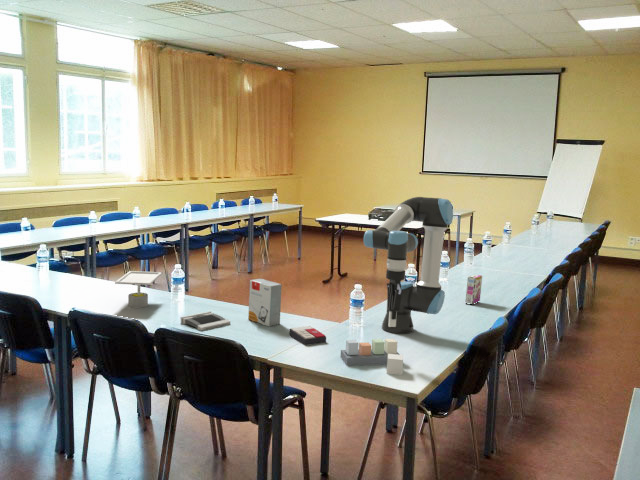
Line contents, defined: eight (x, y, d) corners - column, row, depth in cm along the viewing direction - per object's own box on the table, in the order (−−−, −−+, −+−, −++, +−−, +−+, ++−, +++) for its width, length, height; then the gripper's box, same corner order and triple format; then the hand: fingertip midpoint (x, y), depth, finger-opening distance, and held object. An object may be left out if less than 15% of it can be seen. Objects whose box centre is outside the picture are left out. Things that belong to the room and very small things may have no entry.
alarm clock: (209, 311, 298) (230, 315, 287) (210, 320, 298) (231, 325, 287) (180, 317, 285) (201, 322, 274) (180, 326, 285) (201, 332, 274)
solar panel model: (149, 312, 301) (149, 283, 298) (114, 311, 300) (114, 281, 298) (161, 299, 328) (161, 272, 326) (129, 298, 327) (129, 270, 325)
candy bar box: (473, 305, 348) (475, 277, 346) (464, 304, 351) (467, 276, 348) (480, 302, 357) (482, 275, 355) (472, 301, 360) (474, 274, 358)
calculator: (305, 338, 261) (289, 326, 274) (304, 347, 262) (288, 336, 274) (326, 335, 267) (310, 324, 279) (326, 344, 267) (309, 333, 280)
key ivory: (393, 350, 250) (394, 338, 249) (396, 353, 246) (397, 341, 245) (384, 350, 249) (385, 339, 248) (387, 354, 245) (388, 342, 245)
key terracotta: (367, 354, 248) (368, 342, 247) (370, 357, 244) (371, 345, 243) (358, 354, 247) (359, 342, 246) (361, 357, 243) (361, 345, 242)
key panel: (393, 355, 254) (393, 348, 253) (401, 363, 244) (402, 356, 244) (340, 356, 249) (340, 349, 248) (346, 365, 239) (347, 358, 239)
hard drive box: (247, 319, 297) (248, 280, 294) (259, 317, 302) (260, 278, 300) (268, 326, 286) (270, 285, 284) (280, 324, 292) (282, 283, 289)
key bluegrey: (355, 351, 246) (355, 339, 246) (357, 354, 243) (358, 342, 242) (345, 351, 246) (346, 339, 245) (348, 355, 242) (348, 343, 241)
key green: (380, 350, 249) (381, 339, 248) (383, 354, 245) (384, 342, 244) (371, 351, 248) (372, 339, 247) (374, 354, 244) (375, 342, 243)
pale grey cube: (402, 375, 232) (403, 360, 231) (386, 373, 233) (387, 358, 232) (402, 369, 238) (403, 354, 237) (386, 368, 238) (387, 353, 238)
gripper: (382, 266, 248) (378, 322, 251) (392, 272, 236) (388, 331, 239) (399, 266, 250) (395, 321, 253) (410, 272, 237) (406, 330, 240)
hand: (392, 326), depth 246 cm, fingers closed
